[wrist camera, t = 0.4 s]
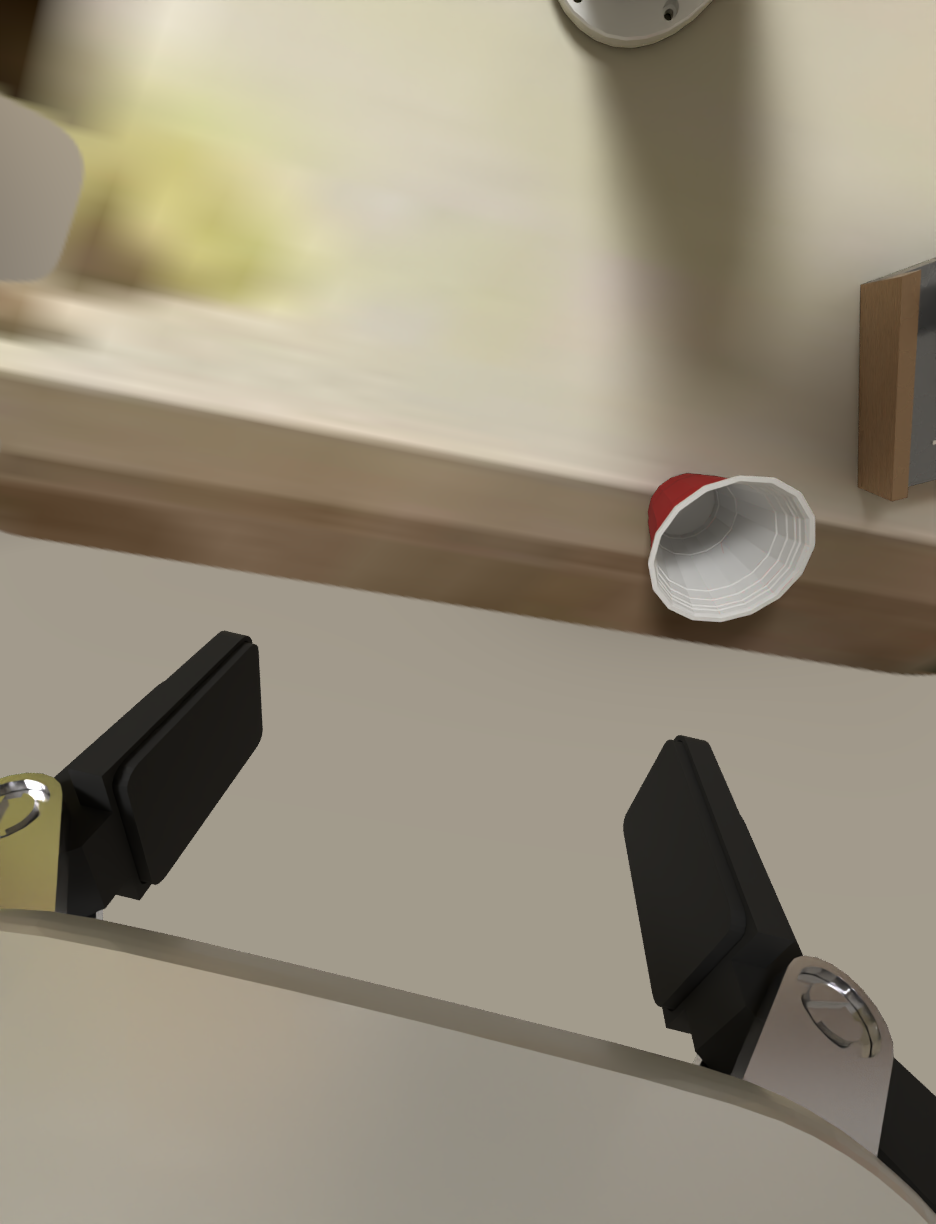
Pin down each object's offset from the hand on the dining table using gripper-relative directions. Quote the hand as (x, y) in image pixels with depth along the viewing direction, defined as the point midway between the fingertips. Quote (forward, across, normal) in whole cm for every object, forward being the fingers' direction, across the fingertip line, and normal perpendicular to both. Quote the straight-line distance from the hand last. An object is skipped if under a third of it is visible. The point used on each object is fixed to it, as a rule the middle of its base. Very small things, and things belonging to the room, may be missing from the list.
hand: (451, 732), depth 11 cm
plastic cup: (+36, -16, +2) cm, 39 cm away
